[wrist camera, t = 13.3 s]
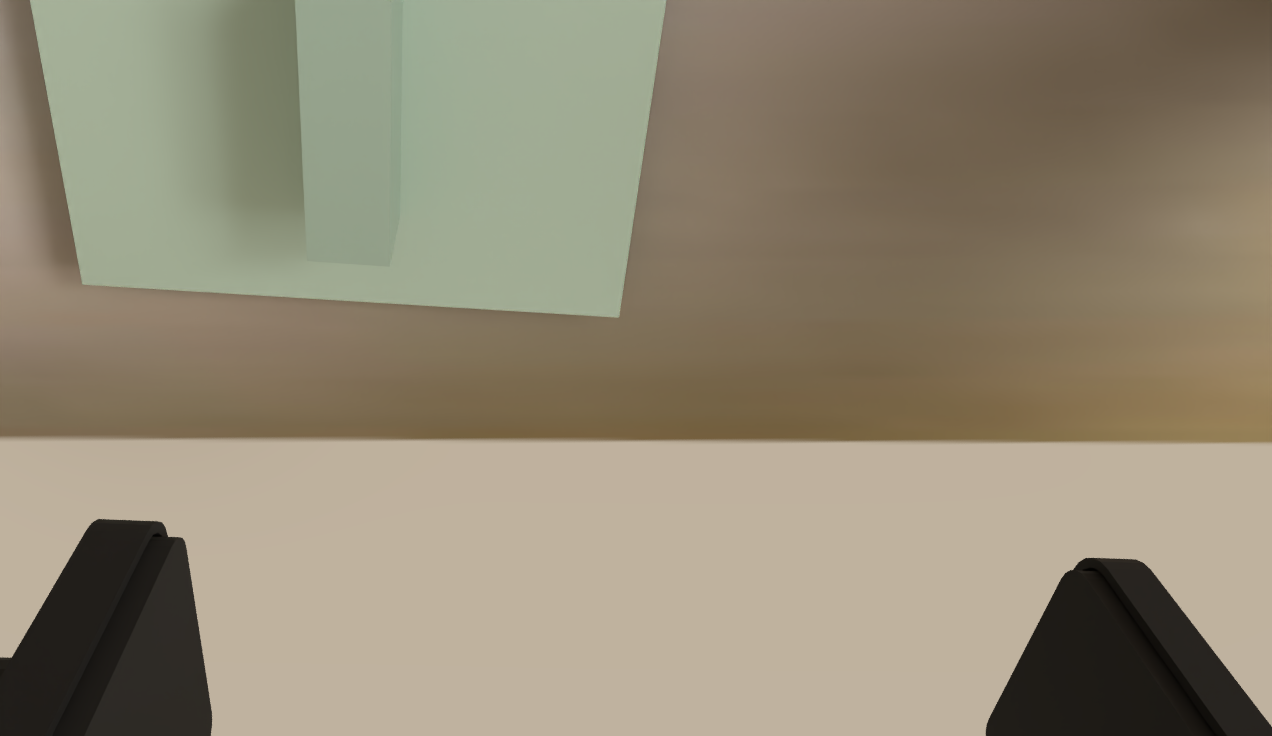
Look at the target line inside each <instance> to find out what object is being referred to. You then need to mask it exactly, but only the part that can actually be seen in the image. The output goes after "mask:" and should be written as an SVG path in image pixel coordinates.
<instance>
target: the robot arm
mask: <svg viewBox="0 0 1272 736" xmlns="http://www.w3.org/2000/svg"><path fill="white" fill-rule="evenodd" d="M211 728H212V711H211V704H210V698H209V692H208V685H207V678H206V673H205V666H204V659H203V653H202V646H201V640H200V634H199V627H198V620H197V614H196V607H195V601H194V594H193V588H192V581H191V575H190V569H189V562H188V555H187V550H186V545H185V541H184V540H183V538H179V537H168V535H167V532H166V528H165V526H164V525H163V523H162V522H157V521H132V520H106V519H103V520H102V519H98V520H96V521H94V522H93V523H92V524H91V525H90V526H89V528H88V529H87V530H86V532H85V533H84V535H83V537H82V539H81V541H80V542H79V544H78V545H77V547H76V549H75V551H74V552H73V554H72V556H71V557H70V559H69V561H68V563H67V564H66V566H65V568H64V569H63V571H62V573H61V575H60V576H59V578H58V580H57V581H56V583H55V585H54V586H53V588H52V590H51V592H50V593H49V595H48V597H47V598H46V600H45V602H44V604H43V605H42V607H41V609H40V611H39V612H38V614H37V616H36V617H35V619H34V621H33V622H32V624H31V626H30V628H29V629H28V631H27V633H26V634H25V636H24V638H23V640H22V641H21V643H20V645H19V647H18V648H17V650H16V652H15V653H14V655H13V657H12V658H0V736H211ZM986 736H1272V727H1271V725H1270V724H1269V723H1268V721H1267V720H1266V719H1265V718H1264V716H1263V715H1262V714H1261V713H1260V711H1259V710H1258V708H1257V707H1256V706H1255V705H1254V704H1253V702H1252V701H1251V699H1250V698H1249V697H1248V695H1247V694H1246V693H1245V692H1244V690H1243V689H1242V688H1241V686H1240V685H1239V684H1238V682H1237V681H1236V680H1235V679H1234V677H1233V676H1232V675H1231V673H1230V672H1229V671H1228V669H1227V668H1226V667H1225V666H1224V664H1223V663H1222V662H1221V660H1220V659H1219V658H1218V656H1217V655H1216V654H1215V653H1214V651H1213V650H1212V649H1211V647H1210V646H1209V645H1208V644H1207V642H1206V641H1205V640H1204V638H1203V637H1202V636H1201V634H1200V633H1199V632H1198V630H1197V629H1196V628H1195V627H1194V625H1193V624H1192V623H1191V621H1190V620H1189V619H1188V617H1187V616H1186V615H1185V614H1184V612H1183V611H1182V610H1181V608H1180V607H1179V606H1178V604H1177V603H1176V602H1175V601H1174V599H1173V598H1172V597H1171V595H1170V594H1169V593H1168V592H1167V590H1166V589H1165V588H1164V586H1163V585H1162V584H1161V582H1160V581H1159V580H1158V579H1157V577H1156V576H1155V575H1154V573H1153V572H1152V571H1151V570H1150V569H1149V568H1148V567H1147V566H1146V565H1145V564H1144V563H1142V562H1140V561H1138V560H1132V559H1106V558H1085V559H1083V560H1082V561H1080V562H1079V563H1078V564H1077V565H1076V567H1075V568H1074V570H1070V571H1068V572H1067V573H1065V574H1064V576H1063V577H1062V578H1061V580H1060V582H1059V584H1058V586H1057V588H1056V590H1055V592H1054V594H1053V596H1052V598H1051V600H1050V602H1049V604H1048V606H1047V608H1046V609H1045V611H1044V613H1043V615H1042V617H1041V619H1040V621H1039V623H1038V625H1037V627H1036V629H1035V631H1034V633H1033V635H1032V637H1031V638H1030V640H1029V642H1028V644H1027V646H1026V648H1025V650H1024V652H1023V654H1022V656H1021V658H1020V660H1019V662H1018V664H1017V666H1016V668H1015V670H1014V671H1013V673H1012V675H1011V677H1010V679H1009V681H1008V683H1007V685H1006V687H1005V689H1004V691H1003V693H1002V695H1001V697H1000V698H999V700H998V702H997V704H996V706H995V708H994V710H993V712H992V714H991V716H990V718H989V720H988V723H987V727H986Z"/></svg>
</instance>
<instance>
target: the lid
mask: <svg viewBox="0 0 1272 736" xmlns="http://www.w3.org/2000/svg"><path fill="white" fill-rule="evenodd" d="M30 4H31V9H32V15H33V20H34V25H35V31H36V36H37V42H38V47H39V53H40V58H41V63H42V69H43V74H44V80H45V85H46V91H47V96H48V101H49V107H50V112H51V118H52V123H53V128H54V134H55V139H56V145H57V150H58V156H59V161H60V166H61V172H62V177H63V183H64V188H65V193H66V199H67V204H68V210H69V215H70V221H71V226H72V231H73V237H74V242H75V248H76V253H77V259H78V264H79V269H80V275H81V280H82V285H97V286H113V287H129V288H145V289H162V290H178V291H194V292H211V293H227V294H243V295H259V296H276V297H292V298H308V299H325V300H341V301H357V302H373V303H390V304H406V305H422V306H439V307H455V308H471V309H487V310H504V311H520V312H536V313H553V314H569V315H585V316H601V317H618V318H619V314H620V307H621V300H622V294H623V287H624V280H625V274H626V267H627V260H628V254H629V247H630V240H631V234H632V227H633V220H634V214H635V207H636V200H637V194H638V187H639V180H640V174H641V167H642V160H643V154H644V147H645V140H646V134H647V127H648V120H649V114H650V107H651V100H652V94H653V87H654V80H655V74H656V67H657V60H658V54H659V47H660V40H661V34H662V27H663V20H664V14H665V7H666V0H30Z"/></svg>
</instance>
